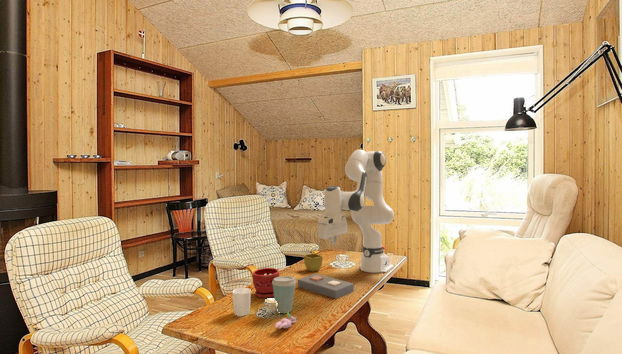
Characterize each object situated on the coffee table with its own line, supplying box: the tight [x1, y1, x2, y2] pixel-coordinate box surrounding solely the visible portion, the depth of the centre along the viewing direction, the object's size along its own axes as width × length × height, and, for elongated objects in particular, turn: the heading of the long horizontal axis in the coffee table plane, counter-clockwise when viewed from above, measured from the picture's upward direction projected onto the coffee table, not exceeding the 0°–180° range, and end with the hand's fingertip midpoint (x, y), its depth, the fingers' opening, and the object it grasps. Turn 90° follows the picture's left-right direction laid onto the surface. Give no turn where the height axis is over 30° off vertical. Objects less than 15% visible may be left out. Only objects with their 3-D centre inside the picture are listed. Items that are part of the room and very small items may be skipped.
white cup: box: [232, 287, 252, 317], centre depth 163 cm, size 8×8×10 cm
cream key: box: [327, 280, 341, 286], centre depth 190 cm, size 5×5×3 cm
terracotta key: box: [310, 276, 323, 281], centre depth 198 cm, size 5×5×3 cm
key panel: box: [297, 273, 355, 300], centre depth 194 cm, size 14×26×4 cm, turn 47°
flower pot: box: [303, 253, 324, 272], centre depth 228 cm, size 9×9×9 cm
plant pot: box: [252, 267, 280, 299], centre depth 186 cm, size 13×13×12 cm
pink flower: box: [274, 312, 298, 329], centre depth 149 cm, size 6×6×15 cm
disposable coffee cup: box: [272, 275, 297, 314], centre depth 165 cm, size 11×11×15 cm
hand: (333, 244), depth 195 cm, fingers closed
